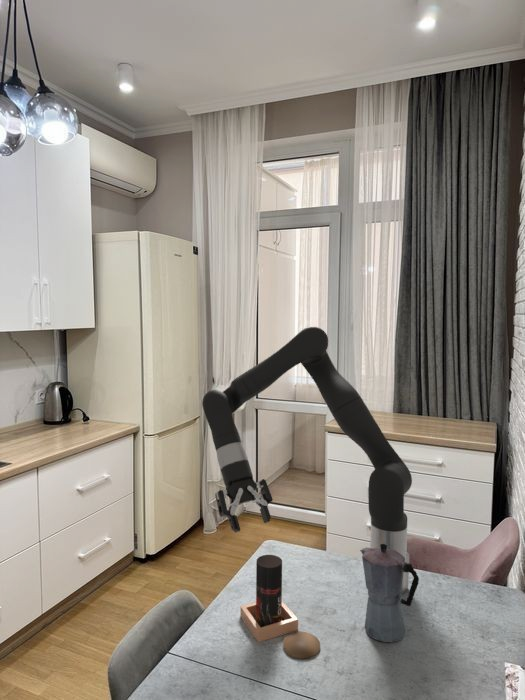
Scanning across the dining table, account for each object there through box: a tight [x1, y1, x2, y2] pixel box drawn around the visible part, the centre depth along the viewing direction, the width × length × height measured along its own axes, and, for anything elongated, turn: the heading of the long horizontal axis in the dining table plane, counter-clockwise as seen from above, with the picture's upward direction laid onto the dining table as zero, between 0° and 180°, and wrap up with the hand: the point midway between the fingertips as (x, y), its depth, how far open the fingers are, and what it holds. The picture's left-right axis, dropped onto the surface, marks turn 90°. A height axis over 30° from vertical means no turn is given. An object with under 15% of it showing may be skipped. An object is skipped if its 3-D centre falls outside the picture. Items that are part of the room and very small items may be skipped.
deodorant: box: [255, 554, 283, 627], centre depth 111 cm, size 6×6×15 cm
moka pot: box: [359, 544, 420, 643], centre depth 109 cm, size 10×15×20 cm, turn 45°
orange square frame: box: [239, 600, 299, 643], centre depth 112 cm, size 10×10×2 cm
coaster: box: [282, 630, 321, 660], centre depth 104 cm, size 8×8×1 cm
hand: (252, 527), depth 118 cm, fingers open, 8 cm apart
